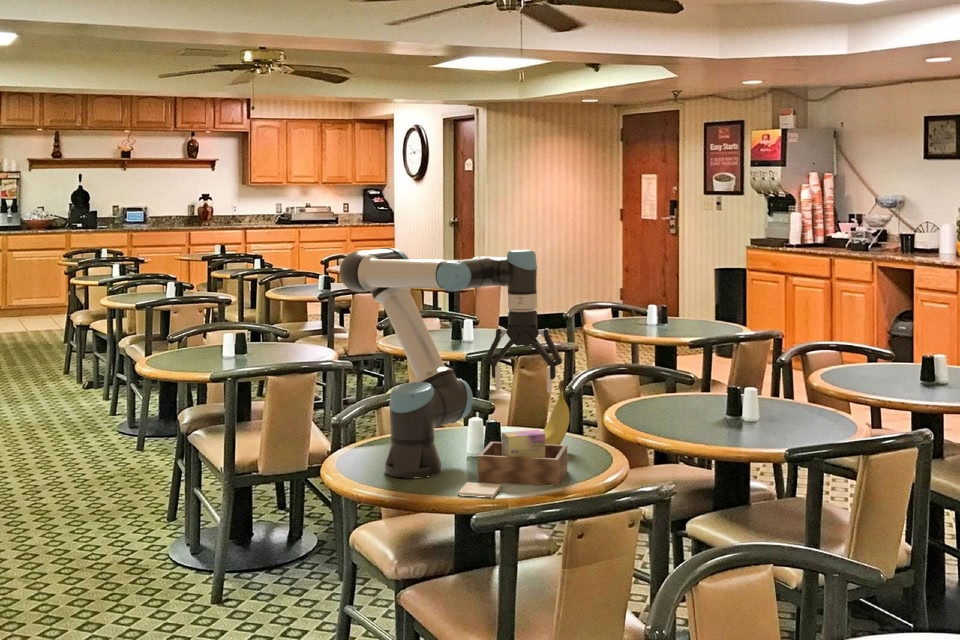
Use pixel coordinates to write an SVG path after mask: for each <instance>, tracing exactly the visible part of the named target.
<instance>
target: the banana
mask: <svg viewBox="0 0 960 640" xmlns="http://www.w3.org/2000/svg"><path fill="white" fill-rule="evenodd" d="M557 389H559V396H558V399H557V401H556V403H555V404H554V405H553V408H552V410H551V412H550V416H549V419H548V421H547V424H546V426H545V427H544V429H543V430H542V432H543V433H545V444H551V445H562V443H563V440H564V439H565V436H566V434H567V431H568V428H569V424H570V408H569V406H568V404H567V402H566V399H565V398H564V390H565V380H564V379H561V380H559V383H558V386H557Z"/></svg>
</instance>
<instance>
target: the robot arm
mask: <svg viewBox="0 0 960 640" xmlns="http://www.w3.org/2000/svg"><path fill="white" fill-rule="evenodd" d="M537 271H538V265H537V255H536V252H535V251H534V250H532V249H512V250H511V249H510V250H508V251H507V254H506V257H501V256H500V257H499V256H498V257H497V256H488V255H484V256H475V257H472V258H469V259H410V258H409V257H408V255H407V254H406V253H405V252H403V251H402V250H400V249H397V248H394V247H393V248H389V247H381V248H377V249H367V250H356V251H353V252H350V253H349V254H347V255H346V256H345V257H344V258H343V260H342V261H341V263H340V267H339V277H340V280H341V282H342V284H343V285H344V286H345V287H346V288H348V289H349V290H350V291H352V292H356V293H367V292H370V294H371V296H372V297H373V299H374V302H375V303H378V304H381V305H382V307H383V309H384V311H385V313H386V316H387V317H388V319H389V322H390V325H391V326H392V328H393V330H394V332H395V335H396V336H397V339H398V341H399V343H400V346H401V348H402V349H403V352H404V355H405V356H406V359H407V361H408V363H409V365H410V368H411V369H412V371H413V373H414V376H415V378H416V381H412V382H406V383H403V384H400V385H398V386H395V387H394V388H393V389H392V390H391V391H390V395H389V405H388V406H389V421H390V422H389V423H390V425H389V426H390V447H389V449H388V453H387V457H386V460H385V462H384V463H385V465H384V472H386V473H387V474H389V475H391V476H390V477H392V476H395V477H394V478H396V477H405V478H404V479H406V478H414V477H425V478H428V477H427V476H430V477H433V476H432V475H434V476H436V475H435V474H437V475H438V473H439V474H440V473H441V472H442V461H441V459H440V455H439V452H438V449H437V446H436V444H435V428H438V427H442V426H446V425H449V424H454V423H457V422H458V421H462V420H463V419H464V418H466V417H467V416H468V415H469V414H470V412H471V410H472V405H473V401H474V398H473V397H474V396H473V391H472V389H471V387H470V385H469V384H468V382H467V381H466V380H463V379H462V378H458V377H456V374H455V373H454V370H453V368H450V367H447V366H446V365H445V363H444V360H442V357H441V355H440V353H439V351H438V349H437V346H436V345H435V342H434V340H433V338H432V336H431V334H430V331H429V330H428V328H427V325H426V323H425V321H424V318H423V317H422V314H421V312H420V311H419V308H418V306H417V305H416V302H415V300H414V297H413V295H412V293H411V290H412V289H430V290H432V289H434V290H444V291H446V292H459V291H462V290H467V289H468V290H469V289H475V288H483V287H489V286H490V287H492V286H496V287H497V286H498V287H499V286H500V287H507V308H508V309H509V311H507V321H508V322H507V329H506V328H502V327H501V326H500V327H498V328H496V331H495V337H494V339H493V341H492V343H491V346H490V348H489V350H488V352H487V354H486V356H485V358H484V361H483V362H484V363H485V364H488V365H490V366H491V368H490V369H491V378H493V379H494V380H495V381H494V382H495V392H500V390H501V385H502V384H501V382H502V380H501V364H498V363H499V362H500V361H501V360H502V359H503V357H504V356H505V354H507V353H508V351H509V350H510V349H511V348H512V347H513V345H515V346H516V347H520V346H524V347H529V346H532V347H533V348H534V349H535V351H536V352H537V353H538V354H539V355H540V356H541V357H542V358H543V360H544V361H545V362H546V363H547V365H548V366H547V367H546V393H551V392H552V391H553V390H552V389H553V387H552V384H553V382H552V380H555V378H556V376H557V375H556V367H557V366H561V364H562V363H563V361H564V360H563V359H562V357H561V355H560V352H559V351H558V349H557V347H556V344H555V342H554V341H553V339H552V337H551V332H550V331H551V330H550V328H548V327H546V328H545V329H544V328H543V329H539V328H538V311H537V310H536V309H537V308H538V293H537V292H538V291H537V290H538V289H537V275H538V274H537ZM505 335H507V336H508V338H509V340H508V341H507V343H506V344H505V345H504V346H503V348H502V349H501V350H500V351H499V353H498V354H497V355H496V356H495V358H494V359H492V358H493V356H494V355H495V352H496V350H497V348H498V346H499V343H500V342H501V340H502V338H503V337H504V336H505ZM539 335H540V336H541V337H542V338H544V341H545V344H546V345H547V347H548V349H549V351H550V353H551V355H552V357H551V355H550V354H549V353H548V352H547V350H546V349H545V348H544V347H543V345H541V343H540V342H539V340H538V339H537V338H538V336H539ZM386 473H385V474H386ZM387 474H386V475H387ZM389 475H388V476H389ZM414 479H415V478H414Z"/></svg>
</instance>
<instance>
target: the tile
mask: <svg viewBox="0 0 960 640" xmlns="http://www.w3.org/2000/svg"><path fill="white" fill-rule="evenodd" d="M501 489H502V483H486V482H469V481H466V483H465V484H464V485H463V486H462V487H461V488H460V490H459V491H457V495H458V494H461V495H462V494H463V495H475V496H485V497H494V496H495V495H497V494H498V493H499V492H500V490H501ZM498 491H499V492H498ZM497 492H498V493H497ZM495 497H496V496H495ZM495 497H494V498H495Z"/></svg>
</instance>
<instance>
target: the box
mask: <svg viewBox="0 0 960 640" xmlns="http://www.w3.org/2000/svg"><path fill="white" fill-rule="evenodd" d="M501 442H502V456H514V457H534V458H545V433H543V430H542V431H541V430H539V429H528V430H517V431H505V432H504V431H503V432H501Z"/></svg>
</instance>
